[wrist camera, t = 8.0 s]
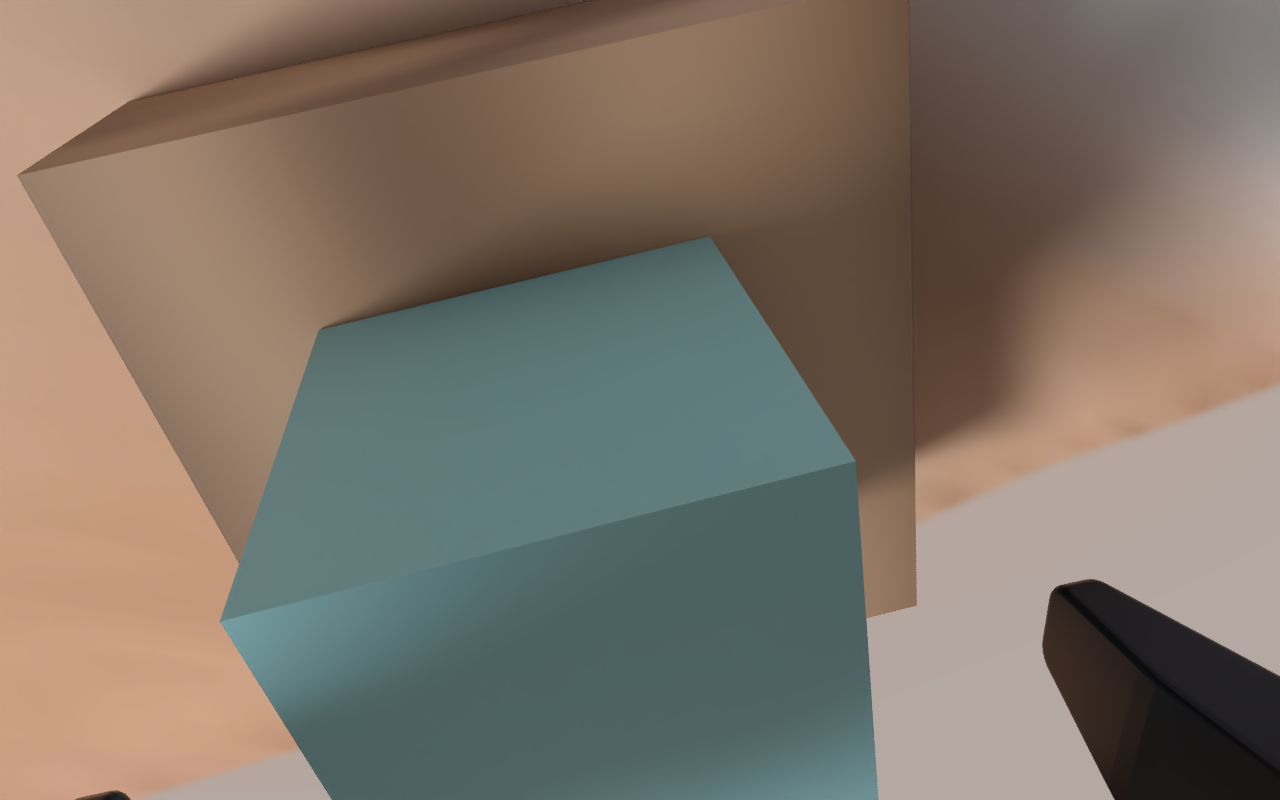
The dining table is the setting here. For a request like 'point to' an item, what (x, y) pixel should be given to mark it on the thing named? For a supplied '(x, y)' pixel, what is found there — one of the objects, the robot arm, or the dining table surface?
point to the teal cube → (564, 551)
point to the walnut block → (511, 212)
